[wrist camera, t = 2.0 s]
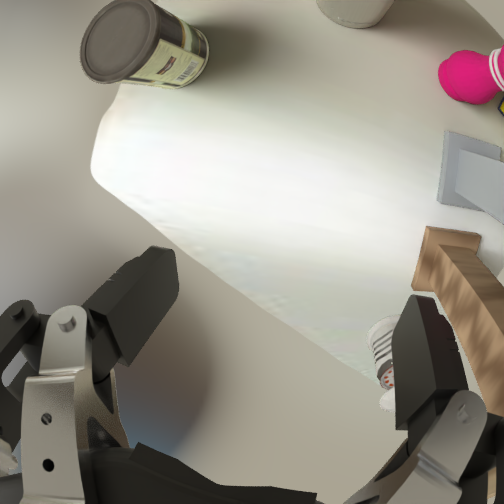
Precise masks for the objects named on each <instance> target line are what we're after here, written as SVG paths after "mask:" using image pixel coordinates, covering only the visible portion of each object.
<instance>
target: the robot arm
mask: <svg viewBox="0 0 504 504" xmlns="http://www.w3.org/2000/svg"><path fill="white" fill-rule="evenodd" d="M316 1H317V4H318V6H319V8H320V9H321V11H322V12H323V13H324V14H325V15H326V16H327V17H328V18H330V19H331V20H333V21H334V22H336V23H338V24H341V25H343V26H346V27H351V28H367V27H370V26H373V25H375V24H376V23H378V22H379V21H380V20H381V19H382V17H383V16H384V15H385V13H386V12H387V10H388V9H389V8H390V6H391V5H392V4H393V2H394V1H395V0H316ZM178 292H179V281H178V273H177V266H176V257H175V253H174V251H173V250H172V249H168V248H163V247H158V246H151V247H150V248H148V249H147V250H146V251H145V252H144V253H143V254H142V255H141V256H140V257H136V258H134V259H132V260H130V261H128V262H126V263H125V264H124V265H123V266H122V267H120V268H119V269H118V270H117V271H116V274H113V275H112V276H111V277H110V278H109V280H108V281H106V282H105V283H104V284H103V285H102V286H101V287H100V288H99V289H98V290H97V291H96V292H95V293H94V294H93V295H92V296H91V297H90V298H89V299H88V300H87V301H86V302H85V303H84V304H83V305H82V306H81V307H80V306H76V305H70V306H65V307H62V308H60V309H58V310H57V311H56V312H54V313H53V314H52V315H44V314H38V313H37V311H36V309H35V307H34V305H33V303H32V302H31V301H29V300H20V301H17V302H15V303H13V304H12V305H11V306H9V308H7V309H6V310H5V311H4V313H3V314H2V315H1V316H0V504H324V503H322V502H320V501H317V500H316V496H317V493H312V492H303V491H296V490H289V489H283V488H277V487H272V486H265V487H264V486H261V487H260V486H257V487H256V486H255V487H254V486H225V485H219V484H216V483H214V482H213V481H211V480H209V479H208V478H205V477H204V476H202V475H201V474H199V473H198V472H196V471H195V470H193V469H191V468H190V467H188V466H187V465H185V464H184V463H182V462H181V461H179V460H178V459H176V458H173V457H171V456H168V455H166V454H164V453H161V452H159V451H156V450H154V449H152V448H150V447H148V446H146V445H143V444H141V443H139V442H138V443H137V445H136V447H135V449H134V448H130V447H129V443H128V439H127V436H126V433H125V431H124V428H123V426H122V424H121V421H120V417H119V410H118V402H117V394H116V384H115V373H114V370H113V367H114V365H115V364H116V362H118V363H120V364H122V365H125V366H127V367H129V366H130V365H131V363H132V362H133V360H134V359H135V357H136V356H137V354H138V353H139V351H140V350H141V349H142V347H143V346H144V344H145V343H146V341H147V340H148V339H149V337H150V336H151V334H152V333H153V332H154V330H155V329H156V327H157V326H158V325H159V323H160V322H161V320H162V319H163V317H164V316H165V315H166V313H167V312H168V311H169V309H170V308H171V306H172V305H173V304H174V302H175V301H176V299H177V296H178ZM391 349H392V360H393V372H394V388H395V414H396V415H395V416H396V430H408V438H406V439H405V440H404V441H403V443H402V444H401V445H400V447H399V448H398V449H397V451H396V452H395V453H394V454H393V455H392V457H391V458H390V459H389V460H388V462H386V464H385V465H384V466H383V467H382V468H381V470H380V471H379V472H378V473H377V474H376V475H375V476H374V477H373V478H372V479H371V480H370V481H369V482H368V483H367V484H366V485H365V486H364V487H363V488H361V489H360V490H358V491H357V492H356V493H355V494H353V495H352V496H351V497H350V498H349V499H348V500H346V501H345V502H344V503H343V504H487V496H488V471H490V470H492V469H493V468H495V467H496V497H495V501H494V504H504V417H502V416H499V415H496V414H492V413H489V412H487V409H486V406H485V403H484V402H483V400H482V399H481V397H480V396H479V395H477V394H476V393H474V392H472V391H469V388H468V384H467V380H466V375H465V371H464V367H463V363H462V360H461V356H460V353H459V352H458V350H459V349H458V346H457V342H455V336H454V333H453V329H452V326H451V325H450V324H449V322H448V321H447V320H446V318H445V317H444V316H443V315H440V314H439V312H438V309H437V306H436V303H435V300H434V299H433V298H431V297H425V296H419V295H411V296H410V297H409V299H408V301H407V303H406V306H405V308H404V310H403V312H402V314H401V316H400V318H399V320H398V322H397V324H396V326H395V328H394V331H393V334H392V340H391ZM19 350H20V351H21V352H22V354H23V355H24V357H25V358H26V359H27V362H26V363H25V365H24V366H23V367H22V369H21V370H20V371H19V373H18V374H17V375H16V377H15V378H14V379H13V381H12V382H11V384H10V385H9V386H7V387H5V386H4V385H3V383H2V379H1V377H2V373H3V371H4V370H5V368H6V367H7V366H8V364H9V363H10V362H11V361H12V359H13V358H14V357H15V355H16V354H17V353H18V352H19ZM20 438H21V462H22V473H18V474H13V475H9V474H8V472H9V468H10V469H12V470H13V469H15V468H17V465H18V461H17V459H16V457H15V456H14V455H12V452H13V451H14V449H15V447H16V445H17V443H18V441H19V440H20Z"/></svg>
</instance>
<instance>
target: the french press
mask: <svg viewBox="0 0 504 504" xmlns="http://www.w3.org/2000/svg"><path fill="white" fill-rule="evenodd" d="M400 316H401V315H395V316H389V317H386V318H384V319H382V320H380V321H378V322H377V323H376V324H375V325H374V326H373V327H371V329H370V330H369V332H368V334H367V336H366V344H367V346H368V348H369V350H371V351H373V353H374V355H375V356H374V358H375V360H376V362H375V364H376V365H375V367H376V373H377V377H378V379H379V380H380V384H381V386H382V387H383V388H385V389H387V392H386V393H385V394H384V395H383V396H382V397H381V399H380V406H381V408H382V409H383V410H386V411H388V412H395V388H394V372H393V364H391V362H393V360H392V359H391V358H392V349H391V340H392V334H393V331H394V328H395V326H396V324H397V322H398V320H399V318H400ZM375 360H374V361H375Z"/></svg>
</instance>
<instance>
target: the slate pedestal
mask: <svg viewBox="0 0 504 504" xmlns="http://www.w3.org/2000/svg"><path fill="white" fill-rule="evenodd" d="M500 154H501V148H500V147H498V146H495V145H492V144H489V143H486V142H483V141H480V140H477V139H474V138H470V137H467V136H464V135H460V134H456V133H453V132H449V131H444V146H443V157H442V167H441V175H440V182H439V189H438V196H437V201H438V202H439V203H441V204H447V205H453V206H458V207H464V208H469V209H475V210H480V211H485V212H487V213H488V214H490V215H491V216H493V217H494V218H495V219H497V220H498V221H500V222H501V223H502V224H504V162H501V161H500Z"/></svg>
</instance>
